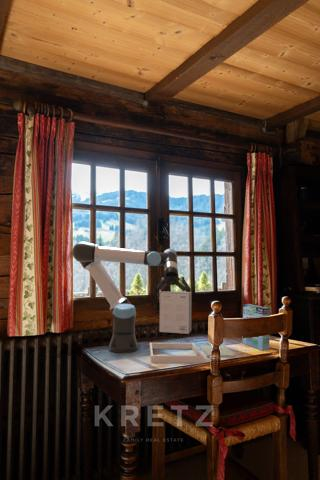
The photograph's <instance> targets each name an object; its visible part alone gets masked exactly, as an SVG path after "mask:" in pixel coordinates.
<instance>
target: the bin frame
mask: <svg viewBox="0 0 320 480" xmlns="http://www.w3.org/2000/svg"><path fill="white" fill-rule="evenodd" d="M154 350H192V351H193V353H194V354H195V355H154ZM149 355H150V363H152V364H154V363H155V364H157V363H158V364H163V363H166V364H168V363H169V364H170V363H171V364H173V363H174V364H175V363H176V364H177V363H178V364H181V363H183V364H185V363H186V364H190V363H191V364H194V363H195V364H197V363H198V364H199V363H200V364H202V363H203V355H202V353H201V352H200V351H199V349H198V348H197V346H196V344H195V343H194V342H149Z"/></svg>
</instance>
